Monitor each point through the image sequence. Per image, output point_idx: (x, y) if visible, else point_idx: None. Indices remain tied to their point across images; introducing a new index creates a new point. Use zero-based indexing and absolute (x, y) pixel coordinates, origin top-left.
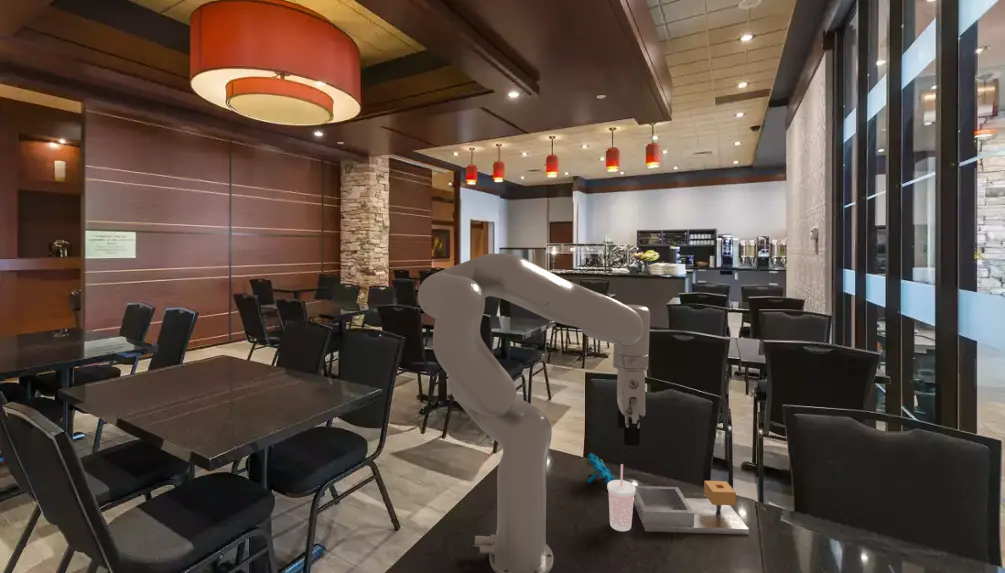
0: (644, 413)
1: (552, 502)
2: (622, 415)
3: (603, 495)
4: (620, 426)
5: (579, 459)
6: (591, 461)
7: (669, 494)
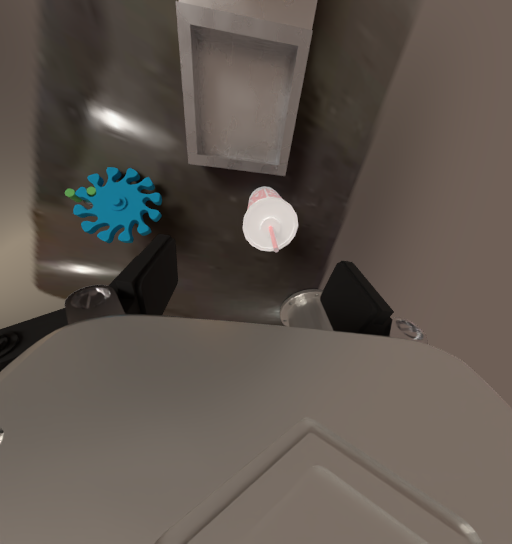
0: (481, 379)
1: (208, 276)
2: (155, 309)
3: (178, 205)
4: (175, 279)
5: (43, 216)
6: (131, 239)
7: (194, 53)
